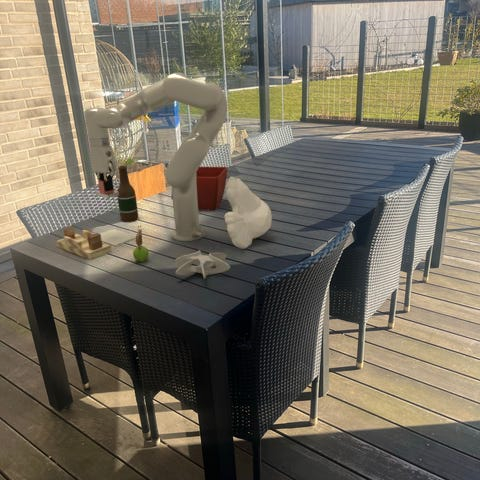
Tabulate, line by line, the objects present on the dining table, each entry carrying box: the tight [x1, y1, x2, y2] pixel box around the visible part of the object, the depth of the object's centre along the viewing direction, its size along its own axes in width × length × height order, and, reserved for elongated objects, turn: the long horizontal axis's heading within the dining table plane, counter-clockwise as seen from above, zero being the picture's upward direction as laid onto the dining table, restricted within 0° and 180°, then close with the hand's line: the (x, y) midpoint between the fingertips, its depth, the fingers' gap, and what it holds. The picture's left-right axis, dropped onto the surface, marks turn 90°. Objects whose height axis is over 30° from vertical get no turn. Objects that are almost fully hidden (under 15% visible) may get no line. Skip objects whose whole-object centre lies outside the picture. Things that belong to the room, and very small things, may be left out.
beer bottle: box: [116, 165, 139, 223], centre depth 208 cm, size 8×8×24 cm
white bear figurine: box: [224, 176, 273, 250], centre depth 177 cm, size 25×16×25 cm
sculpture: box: [174, 249, 231, 280], centre depth 157 cm, size 18×20×6 cm
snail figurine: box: [132, 225, 150, 262], centre depth 167 cm, size 5×6×12 cm
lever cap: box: [95, 178, 119, 199], centre depth 184 cm, size 8×5×6 cm, turn 50°
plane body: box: [56, 227, 112, 261], centre depth 180 cm, size 22×9×8 cm, turn 50°
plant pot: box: [196, 166, 228, 211], centre depth 222 cm, size 19×19×17 cm
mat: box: [100, 228, 136, 247], centre depth 191 cm, size 16×11×1 cm
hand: (106, 189), depth 184 cm, fingers closed on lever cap, 3 cm apart
